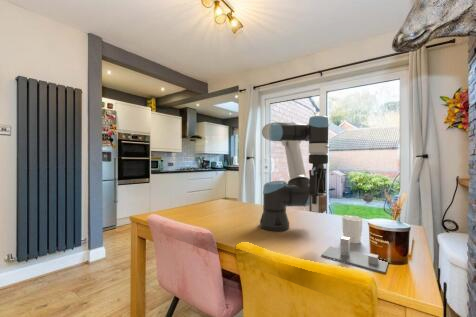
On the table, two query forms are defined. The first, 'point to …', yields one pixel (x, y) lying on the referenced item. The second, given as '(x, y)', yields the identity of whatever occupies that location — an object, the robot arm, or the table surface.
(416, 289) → the table surface
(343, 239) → the post
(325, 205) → the brown wooden block
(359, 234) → the white cup
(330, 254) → the stand
